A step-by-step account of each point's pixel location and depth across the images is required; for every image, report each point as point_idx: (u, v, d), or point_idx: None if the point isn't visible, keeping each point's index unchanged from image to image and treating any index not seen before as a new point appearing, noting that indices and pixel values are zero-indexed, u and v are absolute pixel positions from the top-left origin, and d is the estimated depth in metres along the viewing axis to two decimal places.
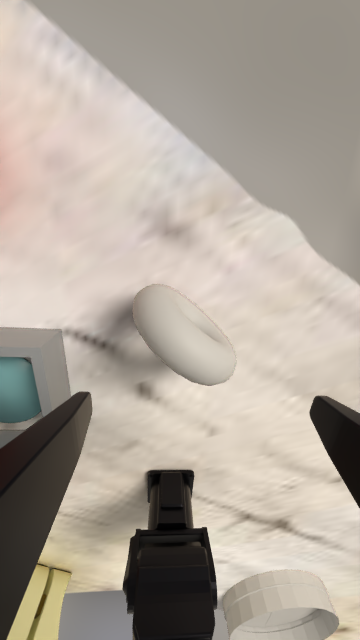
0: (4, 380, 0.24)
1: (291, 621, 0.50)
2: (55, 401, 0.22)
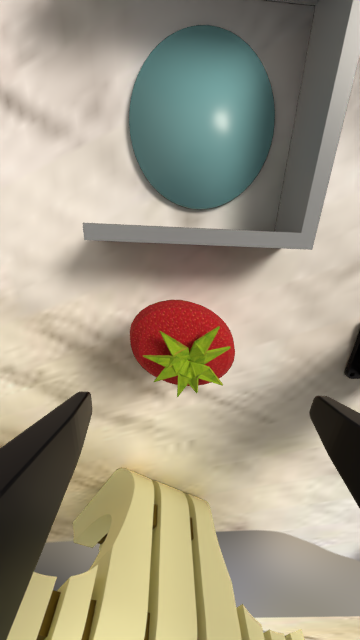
0: (215, 106, 0.15)
1: None
2: None
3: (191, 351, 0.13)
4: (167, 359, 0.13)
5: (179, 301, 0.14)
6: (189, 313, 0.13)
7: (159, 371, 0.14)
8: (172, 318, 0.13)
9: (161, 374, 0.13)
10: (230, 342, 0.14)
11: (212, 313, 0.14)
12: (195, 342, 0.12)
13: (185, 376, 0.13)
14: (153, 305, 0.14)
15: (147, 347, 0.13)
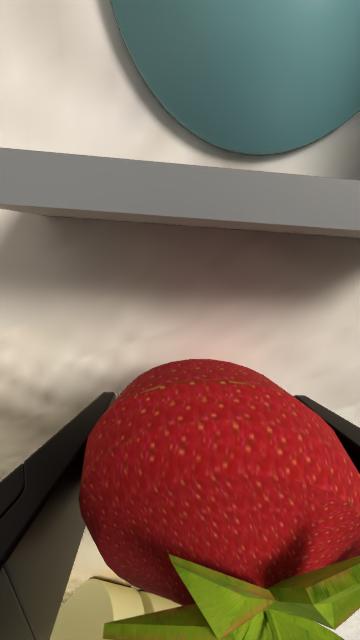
0: None
1: None
2: None
3: (281, 599, 0.04)
4: (197, 634, 0.03)
5: (224, 386, 0.05)
6: (267, 445, 0.04)
7: None
8: (214, 474, 0.04)
9: None
10: None
11: (312, 416, 0.05)
12: (312, 600, 0.03)
13: None
14: (148, 397, 0.05)
15: (126, 552, 0.04)
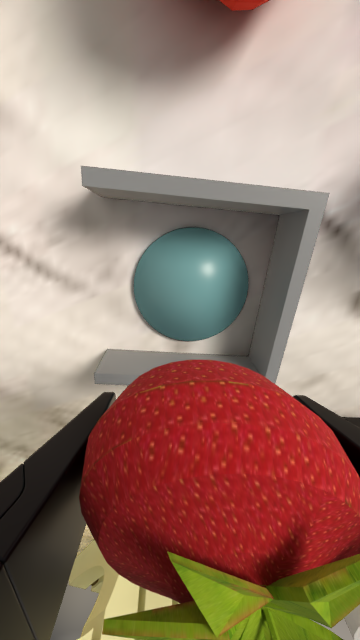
0: (201, 276, 0.19)
1: None
2: None
3: (279, 597, 0.04)
4: (194, 631, 0.04)
5: (223, 386, 0.05)
6: (265, 444, 0.04)
7: (162, 594, 0.05)
8: (213, 473, 0.04)
9: None
10: None
11: (311, 417, 0.05)
12: (309, 599, 0.03)
13: None
14: (148, 397, 0.05)
15: (125, 549, 0.04)
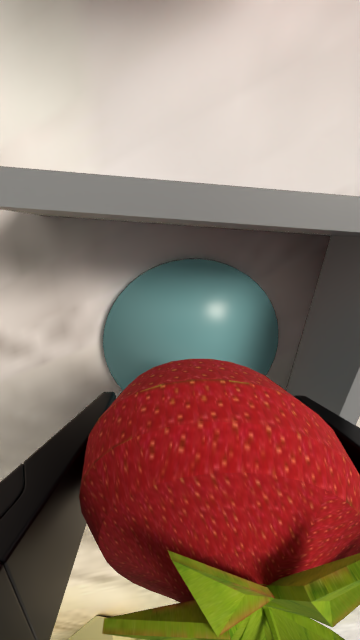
0: (207, 330, 0.12)
1: None
2: None
3: (280, 596, 0.04)
4: (195, 631, 0.04)
5: (223, 385, 0.05)
6: (265, 443, 0.04)
7: (162, 594, 0.05)
8: (213, 472, 0.04)
9: None
10: None
11: (311, 415, 0.05)
12: (310, 598, 0.03)
13: None
14: (148, 396, 0.05)
15: (125, 548, 0.04)
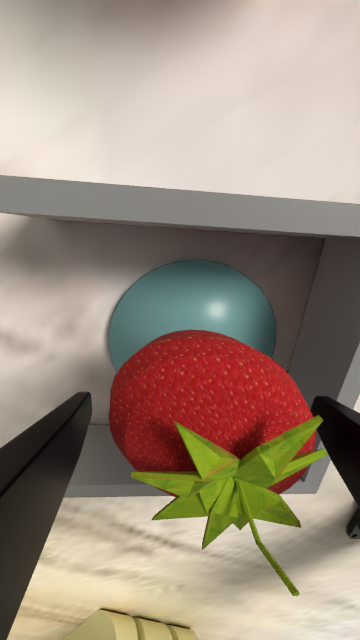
0: (207, 329, 0.13)
1: None
2: None
3: (243, 464, 0.06)
4: (189, 483, 0.05)
5: (212, 340, 0.07)
6: (238, 371, 0.06)
7: None
8: (202, 385, 0.06)
9: (171, 507, 0.06)
10: None
11: (275, 365, 0.07)
12: (259, 452, 0.05)
13: (225, 515, 0.06)
14: (159, 346, 0.07)
15: (143, 442, 0.06)
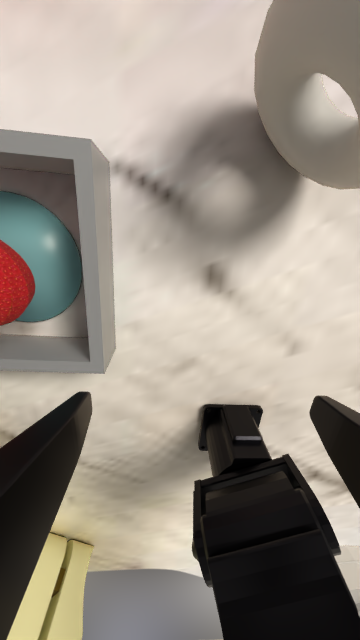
0: (22, 248, 0.17)
1: None
2: (101, 262, 0.15)
3: None
4: None
5: None
6: None
7: None
8: None
9: None
10: None
11: None
12: None
13: None
14: None
15: None
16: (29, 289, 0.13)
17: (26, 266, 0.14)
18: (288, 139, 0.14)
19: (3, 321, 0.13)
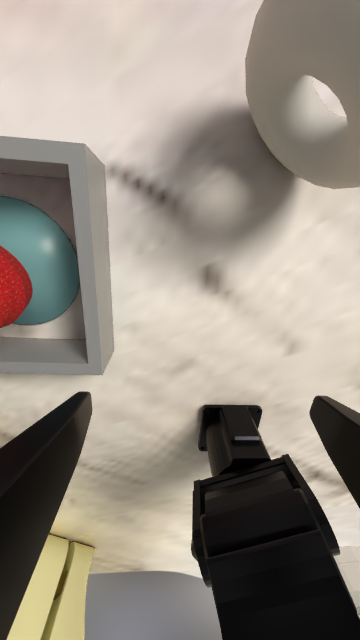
0: (20, 252, 0.17)
1: None
2: (97, 264, 0.15)
3: None
4: None
5: None
6: None
7: None
8: None
9: None
10: None
11: None
12: None
13: None
14: None
15: None
16: (26, 292, 0.14)
17: (23, 269, 0.14)
18: (281, 140, 0.14)
19: (0, 324, 0.13)
